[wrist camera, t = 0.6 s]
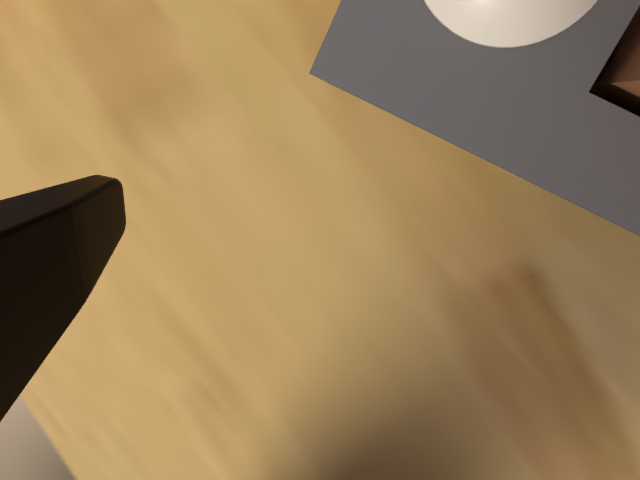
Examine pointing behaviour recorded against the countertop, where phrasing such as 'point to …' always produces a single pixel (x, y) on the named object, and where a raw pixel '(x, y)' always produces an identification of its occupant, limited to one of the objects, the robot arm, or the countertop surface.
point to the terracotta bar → (623, 69)
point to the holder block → (500, 86)
